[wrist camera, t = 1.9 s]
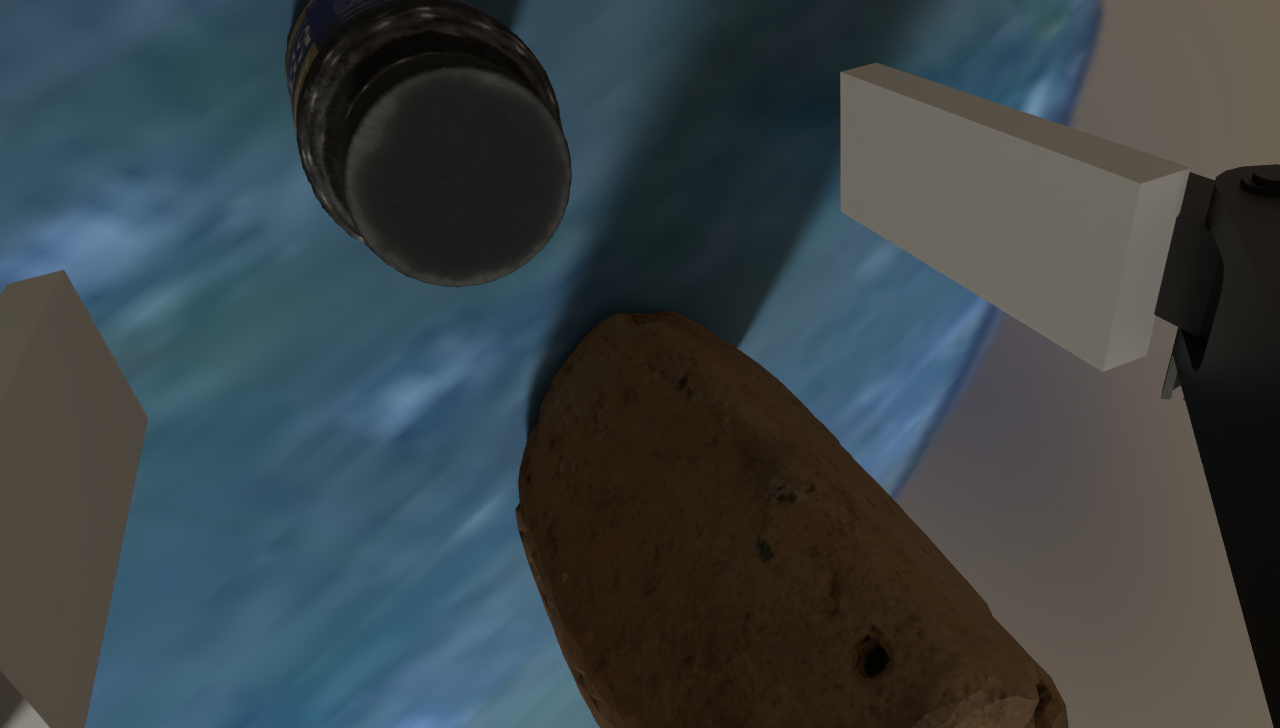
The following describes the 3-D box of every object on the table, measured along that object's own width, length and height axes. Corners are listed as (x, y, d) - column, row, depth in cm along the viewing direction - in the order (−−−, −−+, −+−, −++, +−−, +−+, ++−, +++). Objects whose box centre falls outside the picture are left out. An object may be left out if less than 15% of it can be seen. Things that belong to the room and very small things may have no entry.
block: (630, 261, 32) (1001, 653, 16) (754, 347, 37) (1145, 726, 21) (466, 474, 34) (652, 1015, 18) (602, 533, 39) (850, 1012, 22)
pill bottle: (249, -8, 24) (246, 68, 15) (459, -59, 25) (571, -16, 16) (331, 196, 27) (368, 357, 18) (512, 142, 29) (629, 267, 20)
